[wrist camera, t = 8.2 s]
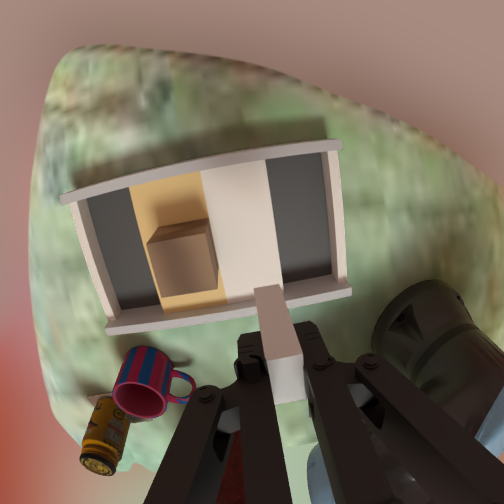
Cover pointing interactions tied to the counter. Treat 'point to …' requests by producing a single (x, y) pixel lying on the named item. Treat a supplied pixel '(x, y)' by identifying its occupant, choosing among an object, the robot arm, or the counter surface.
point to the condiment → (106, 435)
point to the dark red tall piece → (233, 476)
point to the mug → (147, 383)
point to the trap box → (218, 233)
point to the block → (184, 258)
